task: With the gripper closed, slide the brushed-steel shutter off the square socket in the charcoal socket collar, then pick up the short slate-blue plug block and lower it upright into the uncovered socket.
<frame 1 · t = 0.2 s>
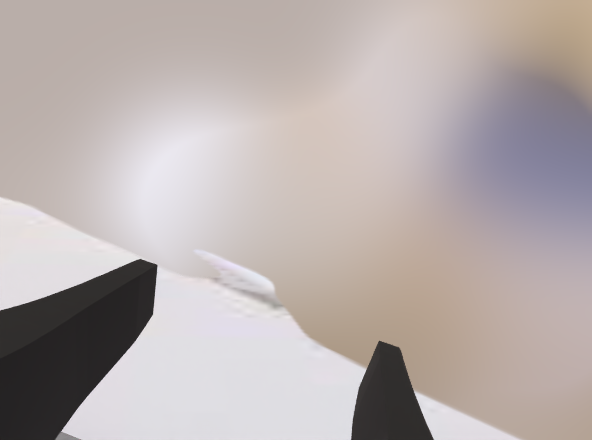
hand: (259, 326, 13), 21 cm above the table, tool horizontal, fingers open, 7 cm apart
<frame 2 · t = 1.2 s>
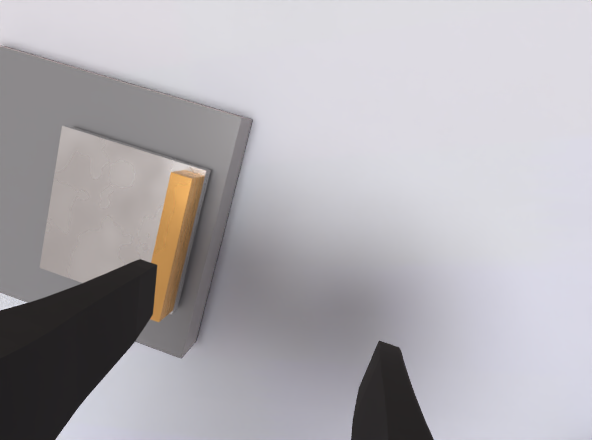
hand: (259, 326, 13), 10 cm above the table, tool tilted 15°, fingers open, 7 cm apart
shutter: (112, 223, 21), point 3 cm above the table, slide at 0.0 cm
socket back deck: (43, 178, 25), on the table
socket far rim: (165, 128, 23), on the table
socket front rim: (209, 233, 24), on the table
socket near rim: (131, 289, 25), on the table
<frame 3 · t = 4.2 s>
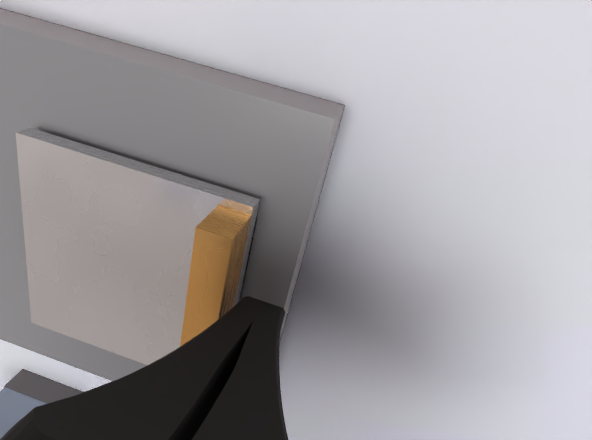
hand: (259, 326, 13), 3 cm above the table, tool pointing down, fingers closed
shutter: (117, 281, 14), point 3 cm above the table, slide at 0.7 cm, touching gripper
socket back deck: (36, 190, 17), on the table
plug: (59, 408, 23), on the table
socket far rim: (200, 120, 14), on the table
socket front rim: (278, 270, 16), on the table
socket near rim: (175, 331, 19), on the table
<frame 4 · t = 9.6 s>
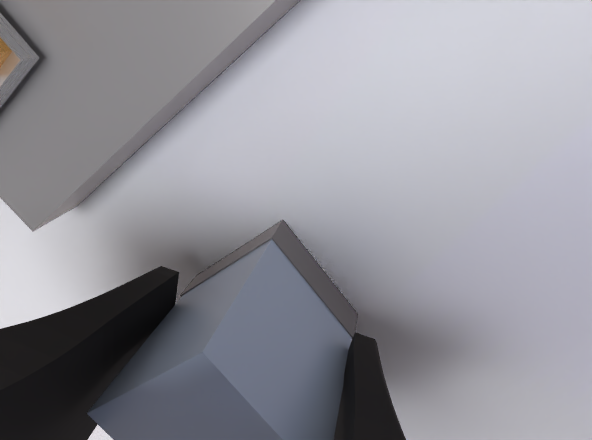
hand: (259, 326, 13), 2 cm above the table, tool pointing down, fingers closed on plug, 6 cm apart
plug: (274, 294, 15), on the table, touching gripper
when the fingers open (3 cm above the table, at t = 15.0 s): plug stays where it is, on the table.
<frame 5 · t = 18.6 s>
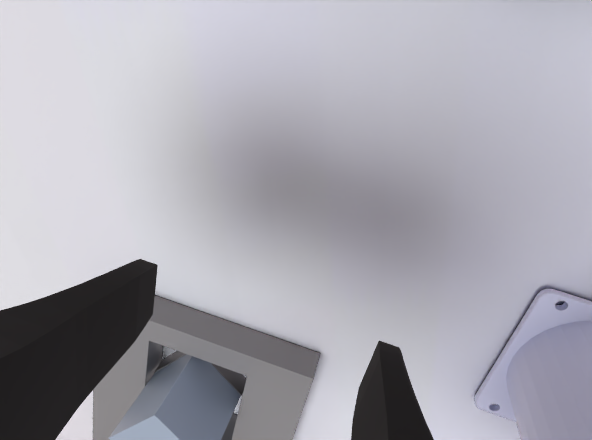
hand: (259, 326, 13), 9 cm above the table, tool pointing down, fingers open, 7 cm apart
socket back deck: (193, 434, 31), on the table
plug: (205, 369, 28), on the table
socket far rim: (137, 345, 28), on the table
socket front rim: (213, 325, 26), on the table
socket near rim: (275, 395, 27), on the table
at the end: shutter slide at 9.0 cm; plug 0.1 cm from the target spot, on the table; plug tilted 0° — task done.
